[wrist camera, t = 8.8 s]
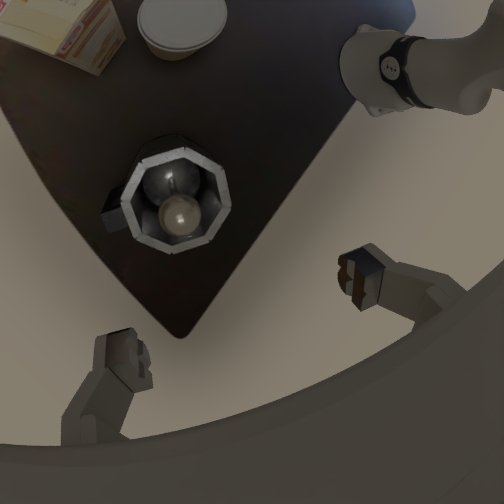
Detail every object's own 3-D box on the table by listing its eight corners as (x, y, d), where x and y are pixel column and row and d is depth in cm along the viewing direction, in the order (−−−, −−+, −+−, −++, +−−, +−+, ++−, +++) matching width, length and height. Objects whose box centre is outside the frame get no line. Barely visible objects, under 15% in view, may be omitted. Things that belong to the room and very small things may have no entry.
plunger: (192, 144, 34) (214, 169, 22) (204, 196, 38) (232, 246, 26) (135, 162, 32) (125, 197, 20) (152, 213, 36) (155, 272, 25)
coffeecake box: (128, 37, 26) (109, -15, 10) (98, 78, 28) (52, 59, 12) (54, 6, 18) (2, -40, 2) (27, 46, 20) (-44, 25, 4)
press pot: (197, 125, 37) (218, 136, 25) (213, 194, 43) (238, 233, 32) (105, 155, 34) (83, 181, 23) (128, 222, 40) (122, 272, 29)
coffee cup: (174, -1, 25) (184, -35, 15) (221, 34, 30) (247, 11, 21) (127, 43, 27) (117, 20, 17) (175, 78, 32) (184, 67, 22)
